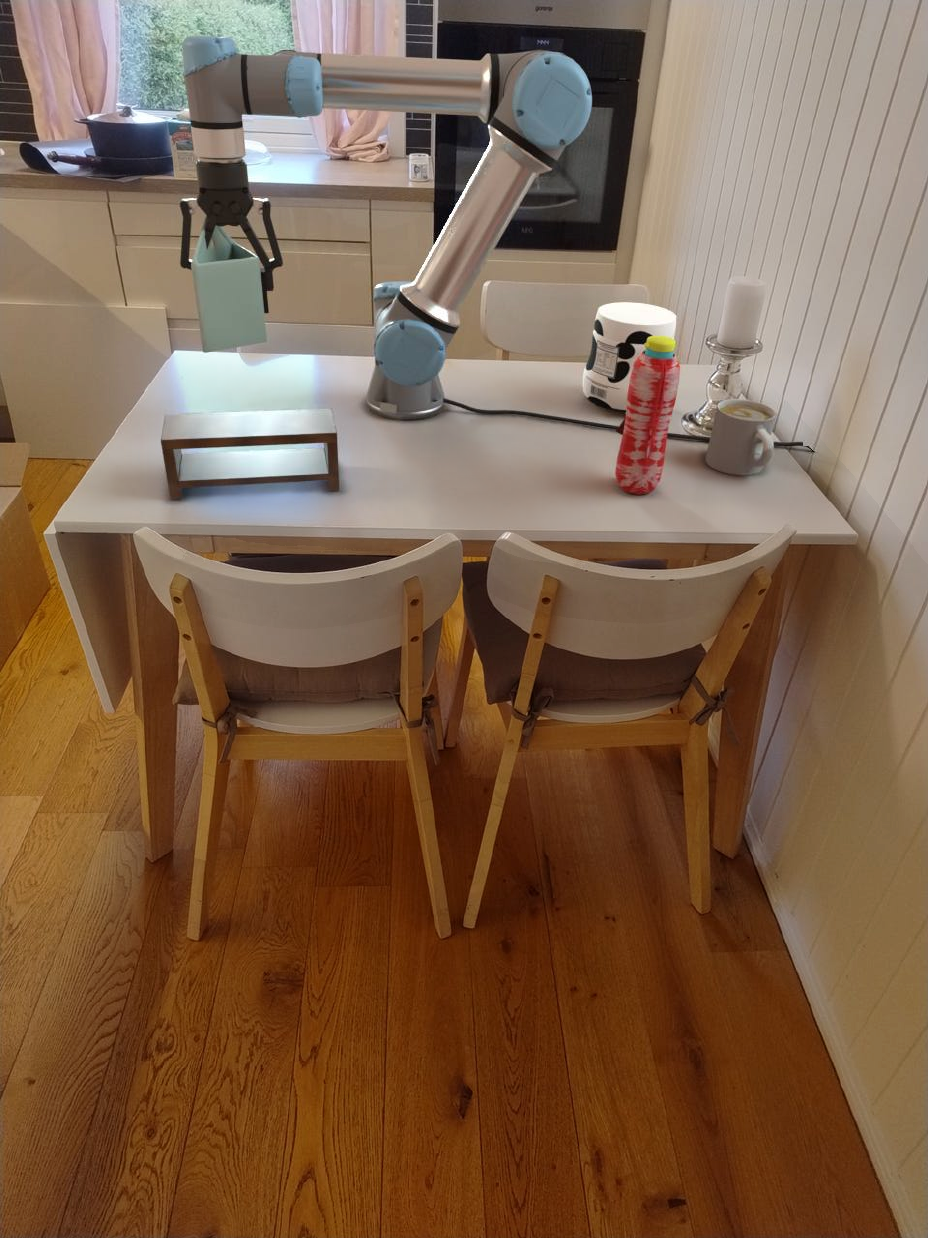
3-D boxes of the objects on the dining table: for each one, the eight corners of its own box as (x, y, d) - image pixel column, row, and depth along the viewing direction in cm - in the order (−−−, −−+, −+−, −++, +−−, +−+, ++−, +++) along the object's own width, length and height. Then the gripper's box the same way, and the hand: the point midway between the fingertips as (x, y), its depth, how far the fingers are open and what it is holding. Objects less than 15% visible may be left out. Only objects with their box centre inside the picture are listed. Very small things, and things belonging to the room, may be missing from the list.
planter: (248, 356, 140) (234, 224, 129) (201, 352, 141) (183, 220, 130) (283, 327, 153) (273, 205, 142) (240, 323, 154) (227, 201, 143)
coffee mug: (697, 451, 159) (708, 398, 153) (749, 451, 160) (762, 398, 154) (724, 484, 148) (737, 429, 142) (779, 483, 149) (795, 428, 143)
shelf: (334, 464, 148) (331, 408, 142) (339, 491, 140) (337, 432, 134) (174, 472, 143) (165, 414, 137) (170, 500, 135) (160, 439, 129)
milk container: (665, 393, 183) (681, 305, 172) (666, 424, 169) (684, 330, 158) (582, 384, 185) (593, 297, 174) (577, 414, 171) (588, 321, 160)
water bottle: (605, 467, 152) (627, 321, 137) (650, 469, 152) (677, 323, 137) (615, 499, 142) (639, 345, 127) (664, 501, 142) (694, 348, 128)
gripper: (291, 155, 137) (301, 303, 150) (148, 154, 133) (172, 306, 146) (293, 163, 131) (304, 316, 144) (144, 161, 127) (169, 319, 140)
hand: (237, 311), depth 145 cm, fingers closed on planter, 9 cm apart
